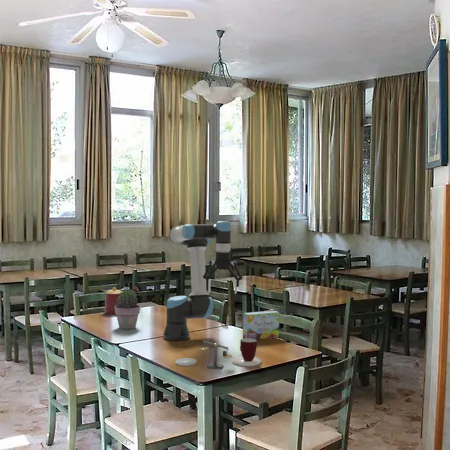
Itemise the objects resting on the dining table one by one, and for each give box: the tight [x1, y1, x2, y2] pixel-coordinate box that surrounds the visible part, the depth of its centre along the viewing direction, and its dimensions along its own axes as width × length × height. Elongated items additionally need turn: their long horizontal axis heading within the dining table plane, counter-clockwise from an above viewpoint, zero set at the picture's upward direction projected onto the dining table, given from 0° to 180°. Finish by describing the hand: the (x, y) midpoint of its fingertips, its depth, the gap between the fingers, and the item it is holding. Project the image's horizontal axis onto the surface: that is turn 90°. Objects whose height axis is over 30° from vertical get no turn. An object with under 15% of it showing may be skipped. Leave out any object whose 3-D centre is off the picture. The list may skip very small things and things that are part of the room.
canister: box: [104, 287, 123, 315], centre depth 397 cm, size 13×13×18 cm
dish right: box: [231, 355, 262, 368], centre depth 281 cm, size 14×14×1 cm
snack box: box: [242, 310, 280, 340], centre depth 331 cm, size 21×6×15 cm, turn 117°
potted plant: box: [114, 285, 143, 330], centre depth 351 cm, size 18×20×25 cm
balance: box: [199, 339, 232, 370], centre depth 273 cm, size 15×5×12 cm, turn 83°
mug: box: [239, 338, 258, 362], centre depth 281 cm, size 10×8×10 cm
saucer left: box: [175, 357, 197, 367], centre depth 279 cm, size 10×10×1 cm
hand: (222, 292), depth 294 cm, fingers open, 13 cm apart
